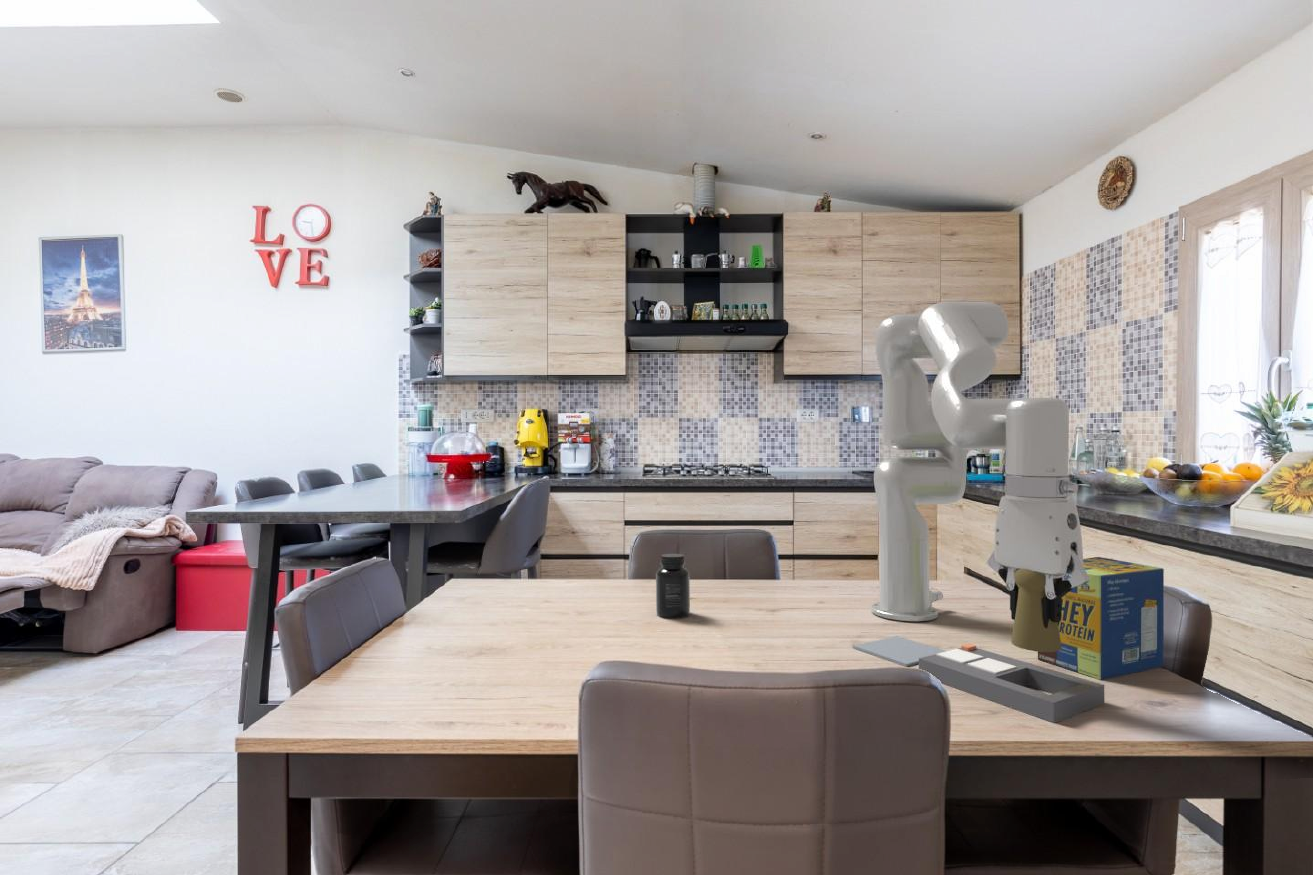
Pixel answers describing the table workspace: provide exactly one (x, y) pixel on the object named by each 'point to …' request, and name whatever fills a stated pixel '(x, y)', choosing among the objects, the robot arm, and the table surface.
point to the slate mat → (898, 650)
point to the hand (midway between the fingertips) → (1035, 620)
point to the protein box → (1112, 620)
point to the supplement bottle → (672, 587)
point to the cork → (1033, 615)
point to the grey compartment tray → (1014, 682)
